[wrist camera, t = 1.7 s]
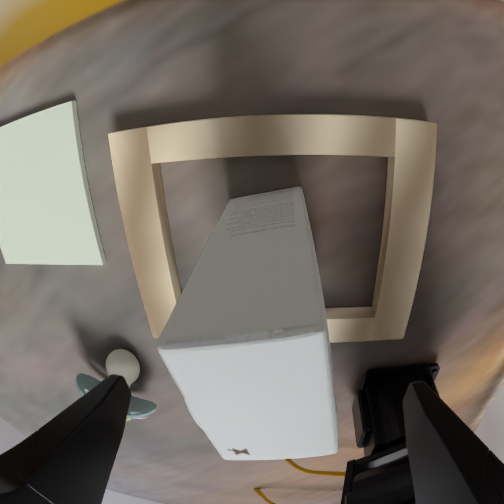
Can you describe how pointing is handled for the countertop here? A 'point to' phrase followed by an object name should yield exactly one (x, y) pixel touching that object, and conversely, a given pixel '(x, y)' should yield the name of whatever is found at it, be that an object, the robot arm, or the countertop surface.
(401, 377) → the robot arm
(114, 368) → the pacifier
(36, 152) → the sage mat
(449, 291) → the countertop surface
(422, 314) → the countertop surface
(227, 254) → the skincare box
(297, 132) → the wooden frame
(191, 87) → the countertop surface
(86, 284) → the countertop surface
